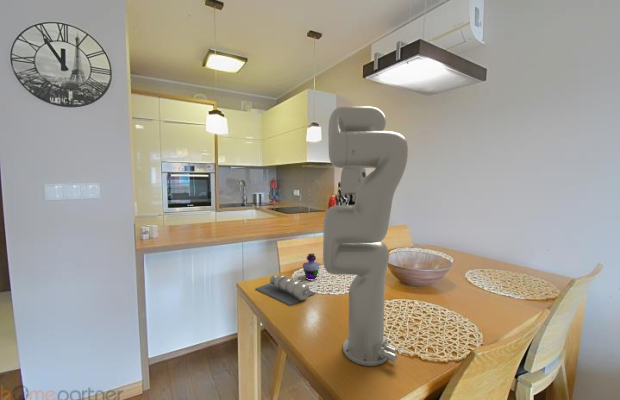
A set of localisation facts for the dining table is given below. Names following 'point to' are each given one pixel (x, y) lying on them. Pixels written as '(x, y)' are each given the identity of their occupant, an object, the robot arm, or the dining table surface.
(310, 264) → the potion bottle
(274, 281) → the plastic bottle
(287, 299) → the mat
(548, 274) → the dining table surface
